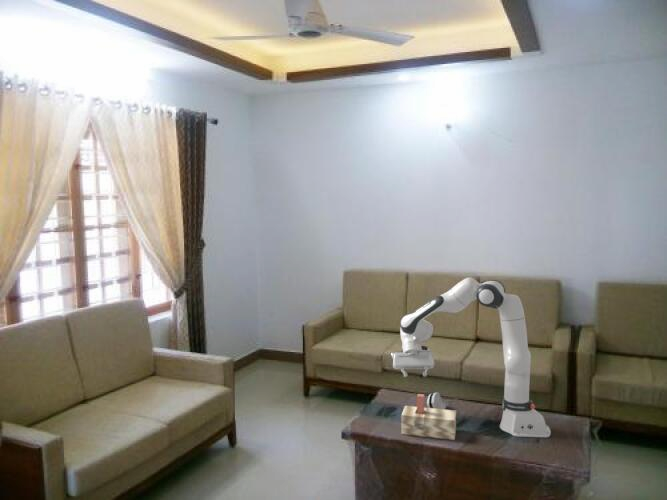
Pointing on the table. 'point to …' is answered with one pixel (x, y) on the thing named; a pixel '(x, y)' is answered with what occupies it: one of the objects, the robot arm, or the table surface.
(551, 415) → the table surface
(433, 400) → the hinge
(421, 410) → the salmon pink square peg
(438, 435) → the beige wooden block
